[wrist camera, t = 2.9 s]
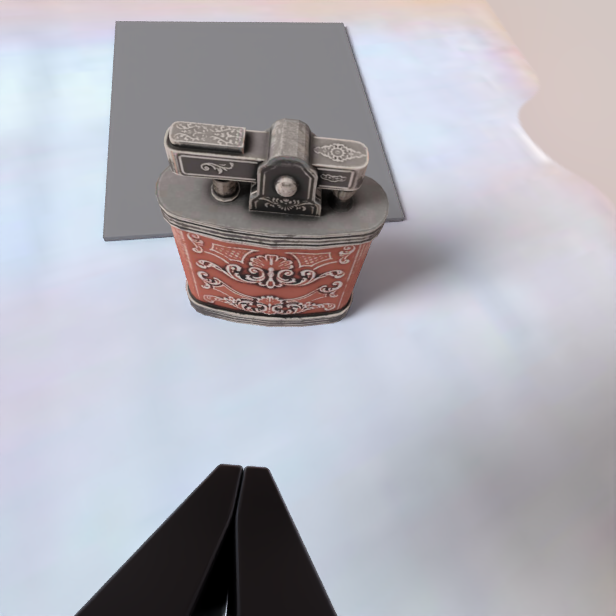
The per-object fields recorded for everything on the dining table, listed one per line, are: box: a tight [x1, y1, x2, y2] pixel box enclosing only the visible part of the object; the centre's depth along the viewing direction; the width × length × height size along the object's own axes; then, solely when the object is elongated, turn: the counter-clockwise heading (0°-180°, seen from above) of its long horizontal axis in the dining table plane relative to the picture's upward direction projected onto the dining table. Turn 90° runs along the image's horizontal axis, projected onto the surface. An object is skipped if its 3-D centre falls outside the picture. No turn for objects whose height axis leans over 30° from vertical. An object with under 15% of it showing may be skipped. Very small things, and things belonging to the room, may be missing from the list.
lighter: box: [155, 118, 389, 327], centre depth 17 cm, size 8×3×10 cm, turn 88°
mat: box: [103, 21, 404, 241], centre depth 27 cm, size 18×16×1 cm
